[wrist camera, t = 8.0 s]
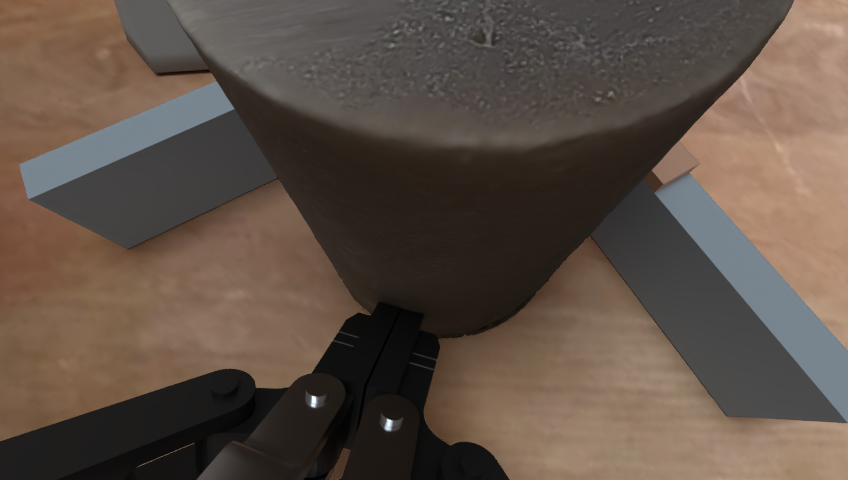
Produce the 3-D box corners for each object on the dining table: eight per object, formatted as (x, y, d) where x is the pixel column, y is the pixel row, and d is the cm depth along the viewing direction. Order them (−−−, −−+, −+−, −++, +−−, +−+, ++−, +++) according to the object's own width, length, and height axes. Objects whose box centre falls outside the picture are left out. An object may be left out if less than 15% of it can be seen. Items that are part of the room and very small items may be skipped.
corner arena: (291, 724, 13) (202, 936, 8) (118, 221, 19) (2, 155, 14) (755, 395, 17) (908, 394, 11) (485, 51, 22) (502, -54, 17)
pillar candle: (565, 336, 17) (1152, 48, 3) (324, 341, 17) (-99, 70, 3) (537, 134, 21) (769, -419, 7) (337, 137, 21) (158, -412, 7)
